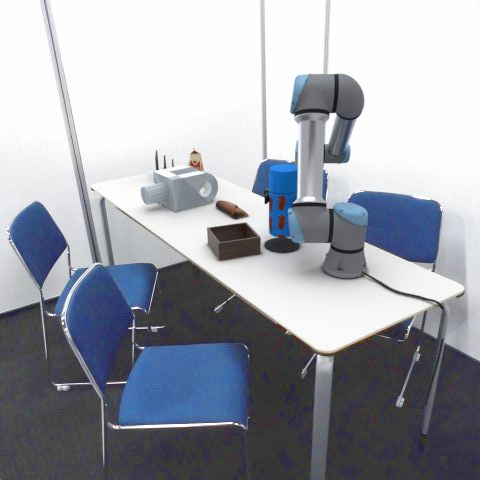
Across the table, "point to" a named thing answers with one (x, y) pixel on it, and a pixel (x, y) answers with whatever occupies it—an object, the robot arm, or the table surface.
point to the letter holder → (164, 162)
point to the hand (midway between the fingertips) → (280, 202)
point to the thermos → (281, 198)
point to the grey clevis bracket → (180, 188)
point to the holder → (233, 241)
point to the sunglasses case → (231, 209)
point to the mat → (281, 245)
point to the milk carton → (196, 162)
